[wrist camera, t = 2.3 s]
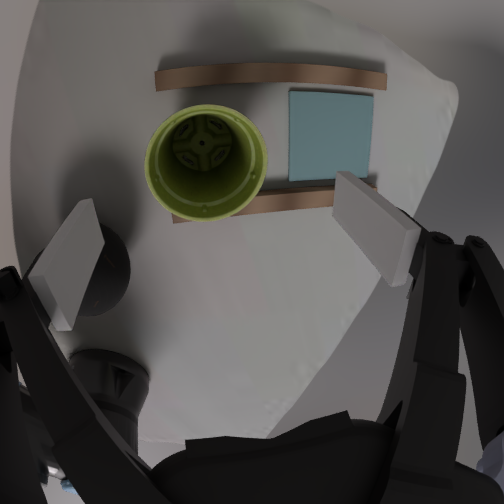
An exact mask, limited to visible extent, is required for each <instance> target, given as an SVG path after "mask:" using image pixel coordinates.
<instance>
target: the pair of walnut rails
mask: <svg viewBox="0 0 504 504" xmlns="http://www.w3.org/2000/svg"><path fill="white" fill-rule="evenodd" d="M252 82H298V83H320V84H334V85H346V86H356V87H364V88H372V89H379V90H386V89H387V74H385V73H379V72H373V71H367V70H360V69H353V68H345V67H336V66H326V65H313V64H296V63H233V64H216V65H203V66H193V67H184V68H176V69H169V70H162V71H155V85H156V91H163V90H170V89H177V88H185V87H194V86H204V85H215V84H230V83H252ZM367 185H368V186H370V187H371V188H372V189H374V190H375V191H376V192H377V187H375V186H374V185H372V184H367ZM334 193H335V185H331V186H315V187H300V188H287V189H275V190H264V191H258V193H257V194H256V196H255V197H254V198H253V199H252V201H251V202H250V203H249V204H248V205H246V206H245V207H244V208H243V209H241V210H240V211H239V212H237V213H235V214H233V215H231V216H239V215H248V214H257V213H266V212H276V211H286V210H296V209H307V208H318V207H329V206H333V203H334ZM229 217H230V216H229ZM172 218H173V224H174V223H182V222H189V221H192V220H188V219H185V218H181V217H179V216H177V215H175V214H173V213H172Z"/></svg>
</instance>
